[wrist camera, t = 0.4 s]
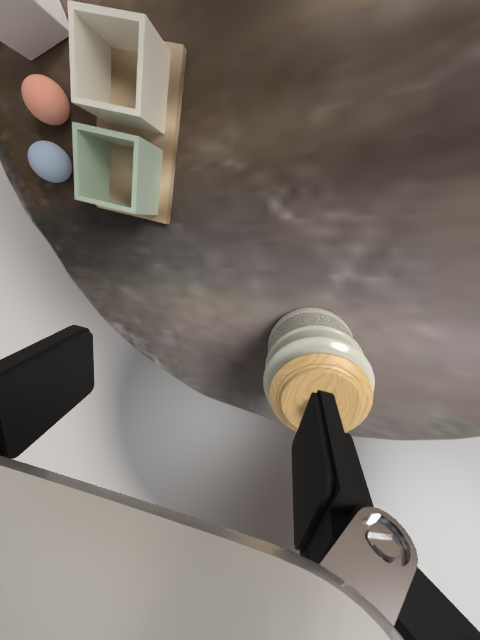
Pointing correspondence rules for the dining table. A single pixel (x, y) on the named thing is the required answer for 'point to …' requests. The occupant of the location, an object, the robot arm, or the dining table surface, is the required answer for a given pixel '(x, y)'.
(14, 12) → the milk carton
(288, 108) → the dining table surface
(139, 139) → the sage cup
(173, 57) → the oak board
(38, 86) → the coral ball
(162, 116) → the cream cup
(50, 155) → the slate ball
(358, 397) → the jar
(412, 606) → the robot arm
